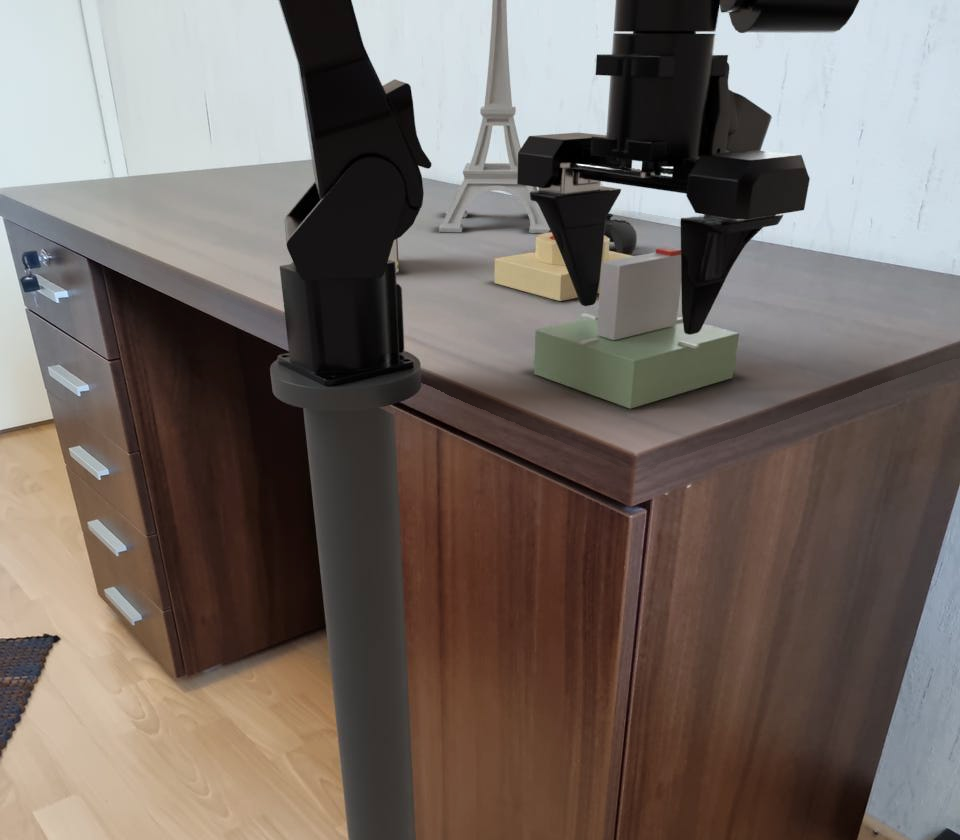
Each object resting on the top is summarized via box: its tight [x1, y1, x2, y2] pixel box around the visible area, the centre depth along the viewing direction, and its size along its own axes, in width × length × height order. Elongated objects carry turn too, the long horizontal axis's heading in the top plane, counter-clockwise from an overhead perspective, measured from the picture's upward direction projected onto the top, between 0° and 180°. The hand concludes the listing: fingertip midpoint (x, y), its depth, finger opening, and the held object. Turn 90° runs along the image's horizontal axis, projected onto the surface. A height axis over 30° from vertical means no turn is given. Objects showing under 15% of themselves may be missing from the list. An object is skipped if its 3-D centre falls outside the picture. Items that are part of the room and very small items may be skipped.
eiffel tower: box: [438, 0, 550, 234], centre depth 105 cm, size 13×13×30 cm
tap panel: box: [533, 312, 740, 410], centre depth 62 cm, size 10×10×3 cm
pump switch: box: [494, 232, 634, 302], centre depth 85 cm, size 11×9×4 cm
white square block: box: [597, 246, 681, 340], centre depth 59 cm, size 6×2×5 cm, turn 129°
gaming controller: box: [548, 213, 638, 256], centre depth 99 cm, size 10×5×6 cm
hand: (637, 318), depth 60 cm, fingers open, 9 cm apart
